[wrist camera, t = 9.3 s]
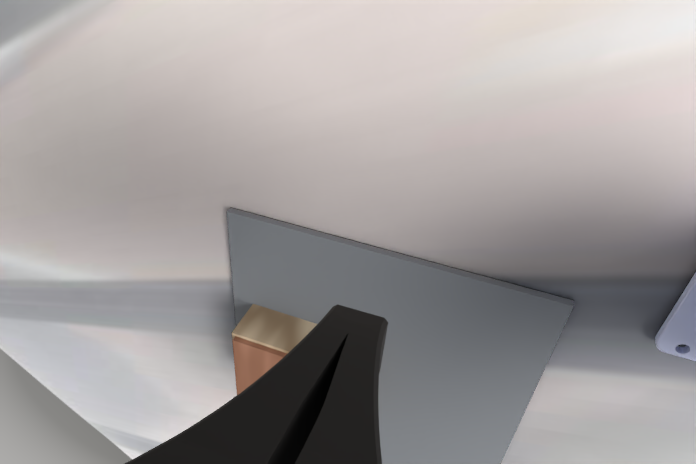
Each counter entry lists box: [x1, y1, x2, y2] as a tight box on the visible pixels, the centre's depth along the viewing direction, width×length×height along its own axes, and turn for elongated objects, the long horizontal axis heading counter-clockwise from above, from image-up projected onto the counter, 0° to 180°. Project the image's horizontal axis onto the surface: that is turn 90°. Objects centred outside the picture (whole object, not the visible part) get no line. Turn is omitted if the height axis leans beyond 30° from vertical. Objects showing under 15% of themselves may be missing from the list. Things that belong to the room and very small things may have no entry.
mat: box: [227, 208, 574, 464], centre depth 29 cm, size 17×18×1 cm
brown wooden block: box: [232, 304, 317, 395], centre depth 29 cm, size 3×6×7 cm
